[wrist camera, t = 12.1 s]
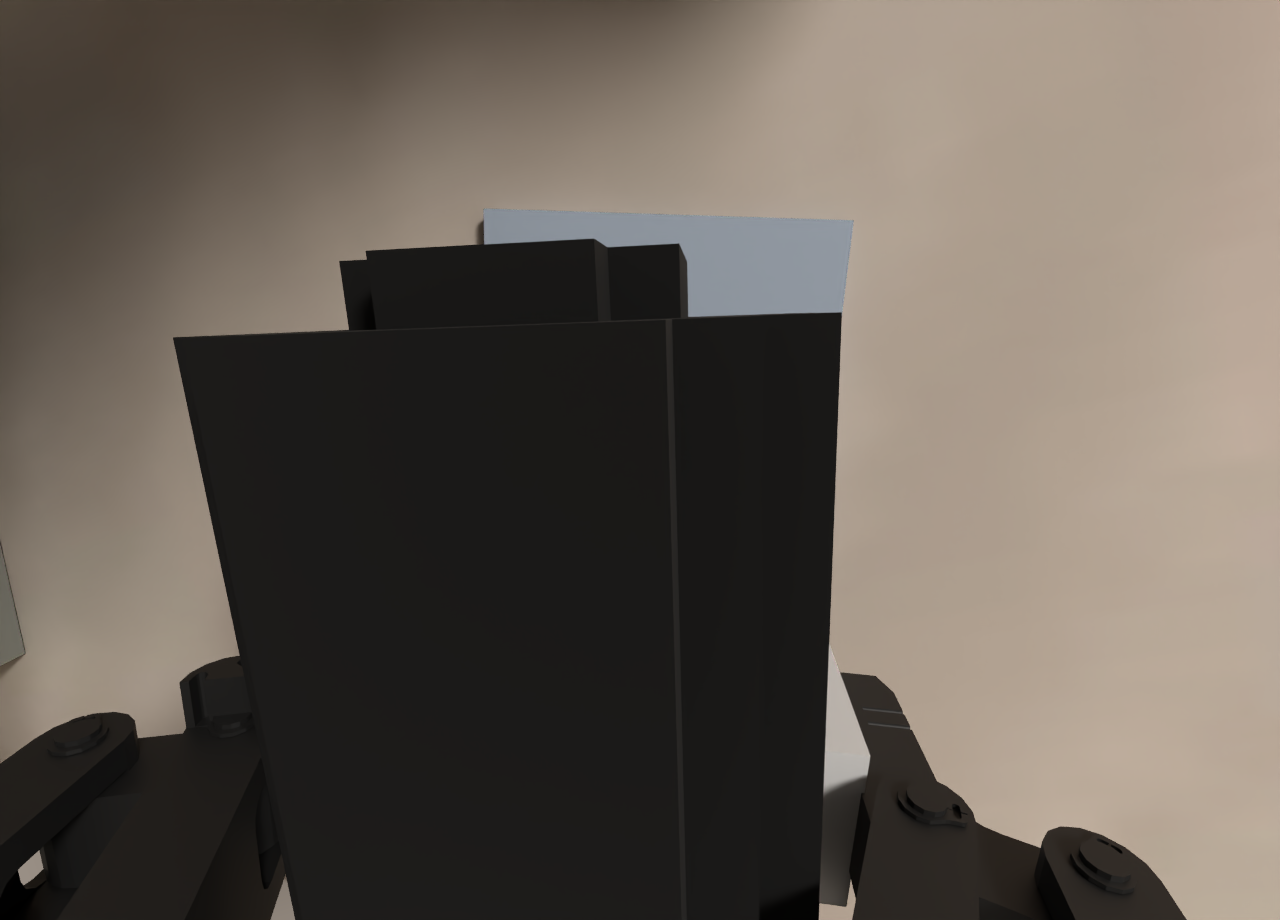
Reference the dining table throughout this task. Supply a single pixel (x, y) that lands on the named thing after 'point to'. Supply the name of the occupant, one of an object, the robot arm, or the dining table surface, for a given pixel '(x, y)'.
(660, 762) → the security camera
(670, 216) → the mat
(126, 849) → the robot arm
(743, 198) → the dining table surface
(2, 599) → the case
